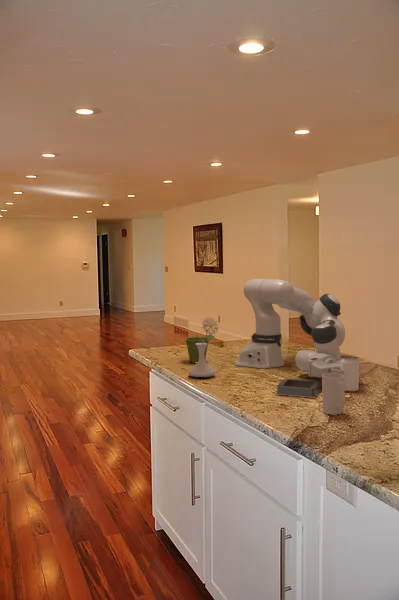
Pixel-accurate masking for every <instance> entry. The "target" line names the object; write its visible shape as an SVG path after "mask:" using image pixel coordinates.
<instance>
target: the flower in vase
mask: <svg viewBox="0 0 399 600" xmlns="http://www.w3.org/2000/svg"><path fill="white" fill-rule="evenodd" d="M201 325H202V329H203V330H204V331H205V336H204V337H205V338H206V337H207V338H208V339H209V341H213V340H215V339H216V337H215V336H214V335H215V334H216V333H217V332H219V323H218V322H217V320H215V318H214V317H212V316H206V317H204V319H202V324H201ZM196 337H197V339H199V340H203V342H204V340H205V338H204V339H203V338H200V337H201V336H198V335H196ZM203 342H202V343H196V346H197V347H198V351H199V361H198V363H196V364H194V365H193V366H191V368H190V369H189V370H188V375H189V376H191V377H193V378H199V377H202V379H203V377H204V378H210V377H213V376H215V375H216V370H215V369H214V368H213V367H212V366H211V365H210V364H209V363H208V362H206V359H205V358H204V353H205V348H206V346H207V343H203ZM207 347H208V346H207Z"/></svg>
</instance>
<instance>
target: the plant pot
mask: <svg viewBox="0 0 399 600" xmlns="http://www.w3.org/2000/svg"><path fill="white" fill-rule="evenodd" d="M199 337H200V338H203V339H204V338H205V336H199ZM184 341H185V343H186V347H187V352H188V358H189V362H190V361H191V362H197V363H198V361H199V351H198V347H197V346H196V343H202V342H203V340H199V339H197V336H191V337H189V336H188V337H185V338H184ZM209 342H210V340H209V339H208V338H207V337H206V338H205V340H204V342H203V343H207V346H206V348H205V353H204V358H205V360H206V357H207V352H208V347H209V346H208V345H209ZM191 362H190V363H191ZM197 363H196V364H197Z"/></svg>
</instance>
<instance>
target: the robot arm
mask: <svg viewBox="0 0 399 600" xmlns="http://www.w3.org/2000/svg"><path fill="white" fill-rule="evenodd" d="M243 294H244V297H245V298H246V299H247V300H248V302H249V303H250V305H251V307H252V310H253V312H254V318H255V332H254V333H252V334H251V338H250V340H252V341H251V342H249V344H247V345H246V346H244V347H243V348H242V349H241V350H240V352H239V357H238V359H236V360H235V361H234V365H235V366H237V367H246V368H256V369H257V368H258V369H270V368H278V367H283V366H285V361H284V358H283V353H282V345H283V336H282V333H281V332H282V331H281V322H282V321H281V320H282V319H281V316H280V314H279V312H276V310H275V309H274V307H273V305H277V306H278V307H280V309H285V310H289V311H292V312H297V313H299V314H301V315H299V322H300V327H301V329H302V331H304V333H306V334H307V335H308V336H311V337H312V341H313V345H314V350H315V351H314V350H307V349H301V350H299V351H297V352H296V354H295V358H294V361H295V366H297V368H298V369H300V370H302V371H303V372H307V376H308V377H310V378H314V377H315V378H322V375H323V374H326V373H337V374H342V375H344V374H343V373H344V371H342V370H341V360H342V354H341V349H340V346H342V345H343V343H344V342H345V337H346V329H345V327H344V324H343V323H342V321H340V320H339V319H338V317H339V316H341V313H342V312H341V302H340V301H339V300H338V299H337V298H336V297H335V296H333V295H332V294H329V293H324V294H323V295H322V296H320V297H319V299H318V300H317V301H316V302H315V298H314V297H313V295H312V294H311V293H309V292H308V291H306V290H304V289H302V288H299V287H296V286H293V284H292V283H291V282H290V281H287V280H283V279H279V278H253V279H249V280H247V281H246V282H245V284H244V287H243ZM360 373H361V362H360V361H359V374H360Z"/></svg>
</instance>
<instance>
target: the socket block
mask: <svg viewBox="0 0 399 600" xmlns="http://www.w3.org/2000/svg"><path fill="white" fill-rule="evenodd" d="M320 384H321V383H320V381H319V380H314V379H313V380H312V379H301V378H300V379H298V378H285V379H282V380H281V381H280V383H278V384H277V386H276V388H277V391H276V392H275V394H276V395H275V396H279V395H288V396H287V397H292V396H299V397H298V398H304V397H309V398H308V399H316V398H317V396H316V395H318V394H319V393H318V392H320V391H321V390H322V386H321V385H320Z"/></svg>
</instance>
